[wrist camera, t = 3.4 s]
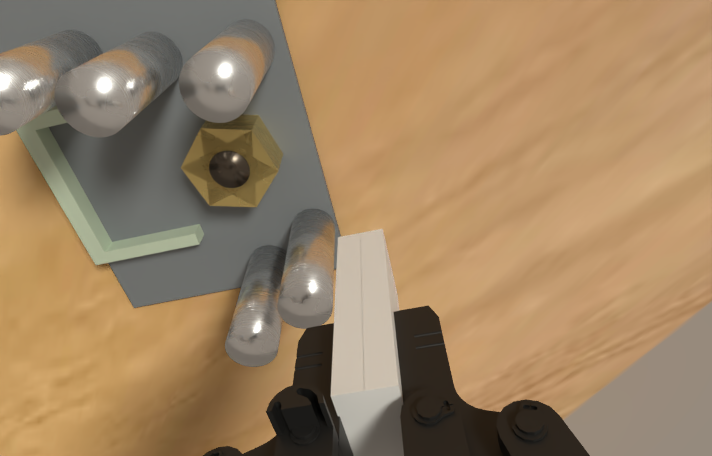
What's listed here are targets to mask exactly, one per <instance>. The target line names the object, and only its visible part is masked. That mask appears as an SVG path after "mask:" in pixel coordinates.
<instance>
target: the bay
mask: <svg viewBox="0 0 712 456" xmlns="http://www.w3.org/2000/svg"><path fill="white" fill-rule="evenodd" d="M64 123H67V122H66V121H65V119H64V118H63V117H62V115H61V114H60V112H59V110H58V108H57V105H56V106H55V107H53V108H51V109H50V110H48V111H46V112H45V113H43V114H41V115H40V116H38V117H37V118H35V119H33V120H32V121H30V122H28V123H27V124H25V125H23V126H22V127H20V128H18V129H17V130H16V131H17V133H18V134H19V136H20V138H21V139H22V141H23V143H24V144H25V146H26V148H27V149H28V151H29V153H30V155H31V156H32V158H33V160H34V161H35V163H36V165H37V166H38V168H39V170H40V171H41V173H42V175H43V177H44V178H45V180H46V182H47V183H48V185H49V187H50V188H51V190H52V192H53V194H54V195H55V197H56V199H57V200H58V202H59V204H60V205H61V207H62V209H63V210H64V212H65V214H66V216H67V217H68V219H69V221H70V222H71V224H72V226H73V227H74V229H75V231H76V232H77V234H78V236H79V238H80V239H81V241H82V243H83V244H84V246H85V248H86V249H87V251H88V253H89V254H90V256H91V258H92V260H93V261H94V263H95V265H100V264H105V263H109V262H114V261H119V260H124V259H129V258H134V257H139V256H144V255H149V254H154V253H159V252H164V251H169V250H174V249H179V248H184V247H189V246H194V245H199V244H200V242H201V240H202V238H203V236H204V233H203V230H202V228H201V226H200V224H197V225H192V226H187V227H182V228H177V229H172V230H168V231H163V232H158V233H153V234H148V235H143V236H138V237H134V238H129V239H124V240H119V241H114V242H112V241H111V239H110V237H109V235H108V233H107V232H106V230H105V228H104V226H103V224H102V223H101V221H100V219H99V217H98V215H97V214H96V212H95V210H94V208H93V206H92V205H91V203H90V201H89V199H88V197H87V196H86V194H85V192H84V190H83V188H82V187H81V185H80V183H79V181H78V179H77V178H76V176H75V174H74V172H73V170H72V169H71V167H70V165H69V163H68V161H67V160H66V158H65V156H64V154H63V152H62V150H61V149H60V147H59V145H58V143H57V141H56V140H55V138H54V136H53V134H52V132H51V131H50V129H49V127H51V126H55V125H59V124H64Z"/></svg>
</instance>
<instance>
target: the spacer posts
mask: <svg viewBox="0 0 712 456" xmlns="http://www.w3.org/2000/svg"><path fill="white" fill-rule="evenodd" d="M274 56H275V44H274V40H273V38H272V36H271V34H270V32H269V31H268V30H267V29H266V28H265V27H264V26H263V25H261V24H260V23H258V22H256V21H253V20H247V19H245V20H239V21H236V22H234V23H232V24H231V25H230V26H229V27H227V28H226V29H225V30H224V31H222V32H221V33H220V34H219V35H218V36H216V37H215V38H214V39H213V40H212V41H210V42H209V43H208V44H207V45H206V46H204V47H203V48H202V49H201V50H200V51H198V52H197V53H196V54H195V55H194V56H192V57H191V58H190V59H189V60H188V61H187V62H186V63H185V64H184V66H183V59H182V55H181V53H180V50H179V49H178V47H177V46H176V44H175V43H174V42H173V41H172V40H171V39H170V38H168V37H167V36H165V35H163V34H160V33H157V32H145V33H142V34H140V35H138V36H136V37H134V38H132V39H130V40H128V41H126V42H124V43H123V44H121V45H119V46H117V47H115V48H113V49H111V50H109V51H107V52H105V53H103V52H102V50H101V48H100V46H99V45H98V44H97V43H96V41H95V40H94V39H92V38H91V37H90V36H88V35H87V34H85V33H83V32H80V31H77V30H65V31H62V32H59V33H56V34H53V35H50V36H48V37H45V38H42V39H39V40H37V41H34V42H31V43H28V44H25V45H23V46H20V47H17V48H14V49H12V50H9V51H6V52H3V53H0V135H6V134H9V133H12V132H14V131H15V130H17V129H18V128H20V127H22V126H23V125H25V124H27V123H28V122H30V121H32V120H33V119H35V118H37V117H38V116H40V115H41V114H43V113H45V112H46V111H48V110H50V109H51V108H53V107H55V106H56V105H57V108H58V110H59V112H60V114H61V115H62V117H63V118H64V119H65V121H66V122H67V123H68V124H69V125H71V126H72V127H73V128H74V129H76V130H77V131H79V132H81V133H83V134H85V135H88V136H92V137H108V136H111V135H114V134H116V133H117V132H119V131H120V130H121V129H122V128H123V127H124V126H125V125H126V124H128V123H129V122H130V121H131V120H132V119H133V118H134V117H135V116H137V115H138V114H139V113H140V112H141V111H142V110H143V109H144V108H146V107H147V106H148V105H149V104H150V103H151V102H152V101H153V100H155V99H156V98H157V97H158V96H159V95H160V94H161V93H162V92H164V91H165V90H166V89H167V88H168V87H169V86H170V85H171V84H172V83H174V82H175V81H176V80H177V79H178V78H179V89H180V93H181V96H182V98H183V101H184V102H185V104H186V105H187V107H188V108H189V109H190V110H191V111H192V112H193V113H194V114H196V115H197V116H198V117H200V118H202V119H204V120H207V121H209V122H214V123H225V122H229V121H232V120H234V119H236V118H238V117H239V116H240V115H242V114H243V112H244V111H245V110H246V108H247V107H248V105H249V103H250V101H251V99H252V98H253V96H254V94H255V92H256V90H257V89H258V87H259V85H260V83H261V81H262V79H263V78H264V76H265V74H266V72H267V70H268V69H269V67H270V65H271V63H272V61H273V59H274ZM334 251H335V223H334V220H333V219H332V217H331V216H330V215H329V214H328V213H326V212H325V211H323V210H320V209H314V208H312V209H306V210H303V211H301V212H299V213H298V214H297V215H296V216H295V217H294V219H293V222H292V226H291V232H290V237H289V243H288V248H287V252H286V251H285V250H283V249H282V248H280V247H277V246H273V245H265V246H261V247H259V248H257V249H256V250H254V251H253V253H252V254H251V256H250V259H249V263H248V266H247V270H246V273H245V277H244V280H243V283H242V287H241V290H240V294H239V297H238V301H237V304H236V308H235V311H234V314H233V318H232V321H231V325H230V328H229V332H228V335H227V338H226V342H225V350H226V352H227V354H228V356H229V357H230V358H231V359H232V360H234V361H235V362H237V363H239V364H241V365H244V366H249V367H258V366H263V365H266V364H268V363H270V362H271V361H272V360H273V359H274V358H275V357H276V355H277V352H278V346H279V340H280V334H281V328H282V321H283V320H284V321H285V322H286V323H288V324H289V325H291V326H294V327H297V328H303V329H307V328H310V327H315V326H320V325H322V324H324V323H325V322H326V321H327V320H328V319H329V317H330V316H331V314H332V308H333V279H334Z"/></svg>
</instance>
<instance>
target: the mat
mask: <svg viewBox="0 0 712 456" xmlns="http://www.w3.org/2000/svg"><path fill="white" fill-rule="evenodd" d="M245 19H247V20H253V21H256V22H258V23H260V24H261V25H263V26H264V27H265V28H266V29H267V30H268V31H269V32H270V34H271V36H272V38H273V40H274V44H275V56H274V59H273V61H272V63H271V65H270V67H269V69H268V70H267V72H266V74H265V76H264V78H263V79H262V81H261V83H260V85H259V87H258V89H257V90H256V92H255V94H254V96H253V98H252V99H251V101H250V103H249V105H248V107H247V108H246V110H245V111H244V112H243V114H244V115H259V116H260V118H261V119H262V121H263V123H264V124H265V126H266V127H267V129H268V130H269V132H270V134H271V135H272V137H273V138H274V140H275V141H276V143H277V145H278V146H279V148H280V149H281V151H282V152H283V157H282V160H281V164H280V168H279V171H278V173H277V174H276V176H275V178H274V179H273V181H272V183H271V184H270V186H269V188H268V189H267V191H266V192H265V194H264V196H263V197H262V199H261V201H260V202H259V204H258V206H257V207H231V206H209V204H208V203H207V202H206V200H205V199H204V198H203V197H202V195H201V194H200V193H199V191H198V190H197V189H196V187H195V186H194V185H193V183H192V182H191V181H190V179H189V178H188V177H187V176H186V174H185V173H184V172H183V170H182V169H181V166H182V164H183V162H184V160H185V158H186V156H187V154H188V152H189V150H190V148H191V146H192V144H193V142H194V140H195V138H196V136H197V134H198V132H199V130H200V128H201V127H202V125H203V124H204V123H205V121H206V120H204V119H202V118H200V117H198V116H197V115H196V114H194V113H193V112H192V111H191V110H190V109H189V108H188V107H187V105H186V104H185V102H184V101H183V98H182V96H181V93H180V89H179V78H178V79H177V80H176V81H175V82H174V83H172V84H171V85H170V86H169V87H168V88H167V89H166V90H165V91H164V92H162V93H161V94H160V95H159V96H158V97H157V98H156V99H155V100H153V101H152V102H151V103H150V104H149V105H148V106H147V107H146V108H144V109H143V110H142V111H141V112H140V113H139V114H138V115H137V116H135V117H134V118H133V119H132V120H131V121H130V122H129V123H128V124H126V125H125V126H124V127H123V128H122V129H121V130H120V131H119V132H117V133H116V134H114V135H111V136H108V137H92V136H88V135H85V134H83V133H81V132H79V131H77V130H76V129H74V128H73V127H72V126H71V125H69V124H68V123H64V124H59V125H55V126H51V127H49V129H50V131H51V132H52V134H53V136H54V138H55V140H56V141H57V143H58V145H59V147H60V149H61V150H62V152H63V154H64V156H65V158H66V160H67V161H68V163H69V165H70V167H71V169H72V170H73V172H74V174H75V176H76V178H77V179H78V181H79V183H80V185H81V187H82V188H83V190H84V192H85V194H86V196H87V197H88V199H89V201H90V203H91V205H92V206H93V208H94V210H95V212H96V214H97V215H98V217H99V219H100V221H101V223H102V224H103V226H104V228H105V230H106V232H107V233H108V235H109V237H110V239H111V241H112V242H114V241H119V240H124V239H129V238H134V237H138V236H143V235H148V234H153V233H158V232H163V231H168V230H172V229H177V228H182V227H187V226H192V225H197V224H200V226H201V228H202V230H203V233H204V236H203V238H202V240H201V242H200V244H199V245H194V246H189V247H184V248H179V249H174V250H169V251H164V252H159V253H154V254H149V255H144V256H139V257H134V258H129V259H124V260H119V261H114V262H109V265H110V267H111V269H112V270H113V272H114V274H115V276H116V277H117V279H118V281H119V282H120V284H121V286H122V288H123V289H124V291H125V293H126V295H127V296H128V298H129V300H130V302H131V303H132V305H133V307H134V308H136V307H141V306H146V305H151V304H156V303H162V302H167V301H172V300H177V299H183V298H188V297H193V296H198V295H203V294H209V293H214V292H219V291H224V290H229V289H235V288H240V287H242V283H243V280H244V277H245V273H246V270H247V266H248V263H249V259H250V256H251V254H252V253H253V251H254V250H256V249H257V248H259V247H261V246H265V245H273V246H277V247H280V248H282V249H283V250H285V251H286V252H287V248H288V243H289V237H290V232H291V226H292V222H293V219H294V217H295V216H296V215H297V214H298V213H299V212H301V211H303V210H306V209H312V208H314V209H320V210H323V211H325V212H326V213H328V214H329V215H330V216H331V217H332V219H333V220H334V223H335V251H334V269H337V248H338V237H341V235H340V231H339V228H338V224H337V221H336V217H335V213H334V210H333V206H332V203H331V199H330V195H329V192H328V188H327V185H326V181H325V177H324V174H323V170H322V167H321V163H320V159H319V156H318V152H317V149H316V145H315V141H314V138H313V134H312V131H311V127H310V123H309V120H308V116H307V113H306V109H305V105H304V102H303V98H302V95H301V91H300V87H299V84H298V80H297V77H296V73H295V69H294V66H293V62H292V59H291V55H290V51H289V48H288V44H287V41H286V37H285V33H284V30H283V26H282V23H281V19H280V15H279V12H278V8H277V5H276V1H275V0H0V53H3V52H6V51H9V50H12V49H14V48H17V47H20V46H23V45H25V44H28V43H31V42H34V41H37V40H39V39H42V38H45V37H48V36H50V35H53V34H56V33H59V32H62V31H65V30H77V31H80V32H83V33H85V34H87V35H88V36H90V37H91V38H92V39H94V40H95V41H96V43H97V44H98V45H99V46H100V48H101V50H102V52H103V53H105V52H107V51H109V50H111V49H113V48H115V47H117V46H119V45H121V44H123V43H124V42H126V41H128V40H130V39H132V38H134V37H136V36H138V35H140V34H142V33H145V32H157V33H160V34H163V35H165V36H167V37H168V38H170V39H171V40H172V41H173V42H174V43H175V44H176V46H177V47H178V49H179V50H180V53H181V55H182V59H183V66H184V64H185V63H186V62H187V61H188V60H189V59H190V58H191V57H192V56H194V55H195V54H196V53H197V52H198V51H200V50H201V49H202V48H203V47H204V46H206V45H207V44H208V43H209V42H210V41H212V40H213V39H214V38H215V37H216V36H218V35H219V34H220V33H221V32H222V31H224V30H225V29H226V28H227V27H229V26H230V25H231V24H232V23H234V22H236V21H239V20H245Z"/></svg>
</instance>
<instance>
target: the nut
mask: <svg viewBox="0 0 712 456" xmlns="http://www.w3.org/2000/svg"><path fill="white" fill-rule="evenodd" d="M282 157H283V152H282V151H281V149H280V148H279V146H278V145H277V143H276V141H275V140H274V138H273V137H272V135H271V134H270V132H269V130H268V129H267V127H266V126H265V124H264V123H263V121H262V119H261V118H260V116H259V115H244V114H242V115H240V116H239V117H238V118H236V119H234V120H232V121H229V122H225V123H214V122H209V121H207V120H206V121H205V123H204V124H203V125H202V127H201V128H200V130H199V132H198V134H197V136H196V138H195V140H194V142H193V144H192V146H191V148H190V150H189V152H188V154H187V156H186V158H185V160H184V162H183V164H182V166H181V169H182V170H183V172H184V173H185V174H186V176H187V177H188V178H189V179H190V181H191V182H192V183H193V185H194V186H195V187H196V189H197V190H198V191H199V193H200V194H201V195H202V197H203V198H204V199H205V200H206V202H207V203H208V204H209V206H231V207H257V206H258V204H259V202H260V201H261V199H262V197H263V196H264V194H265V192H266V191H267V189H268V188H269V186H270V184H271V183H272V181H273V179H274V178H275V176H276V174H277V173H278V171H279V168H280V164H281V160H282Z"/></svg>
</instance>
